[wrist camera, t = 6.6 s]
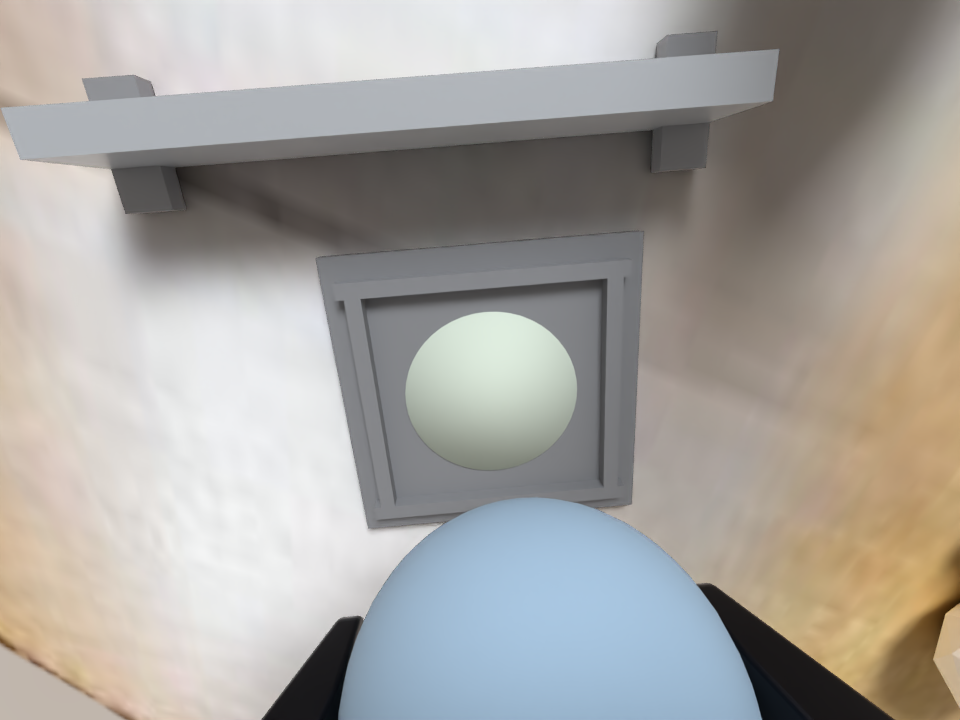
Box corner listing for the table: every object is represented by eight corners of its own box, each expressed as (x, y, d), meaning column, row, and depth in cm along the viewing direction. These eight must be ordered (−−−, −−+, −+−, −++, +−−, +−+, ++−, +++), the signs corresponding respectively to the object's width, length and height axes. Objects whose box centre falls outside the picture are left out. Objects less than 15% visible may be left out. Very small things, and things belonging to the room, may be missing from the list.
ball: (660, 420, 9) (1031, 814, 3) (645, 643, 11) (855, 1132, 5) (355, 447, 9) (161, 908, 3) (397, 667, 11) (328, 1196, 5)
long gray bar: (704, 40, 15) (787, -17, 11) (694, 169, 16) (765, 157, 12) (101, 85, 15) (-24, 42, 11) (141, 213, 16) (41, 215, 12)
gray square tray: (637, 230, 17) (650, 232, 16) (627, 496, 21) (636, 513, 20) (320, 256, 17) (310, 260, 15) (370, 519, 21) (365, 538, 19)
